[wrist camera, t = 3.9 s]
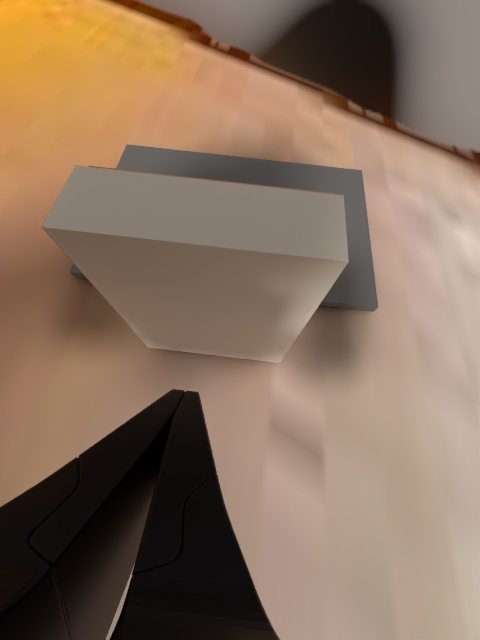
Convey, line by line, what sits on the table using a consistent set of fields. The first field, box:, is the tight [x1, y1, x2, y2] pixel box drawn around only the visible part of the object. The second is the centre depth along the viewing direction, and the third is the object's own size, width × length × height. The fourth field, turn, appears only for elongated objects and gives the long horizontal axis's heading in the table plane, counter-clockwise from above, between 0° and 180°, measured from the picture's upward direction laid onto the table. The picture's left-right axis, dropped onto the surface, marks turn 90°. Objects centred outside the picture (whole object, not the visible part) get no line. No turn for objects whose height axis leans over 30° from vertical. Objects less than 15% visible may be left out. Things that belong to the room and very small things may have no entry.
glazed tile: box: [42, 165, 349, 363], centre depth 12 cm, size 3×8×10 cm, turn 84°
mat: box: [70, 145, 378, 311], centre depth 20 cm, size 13×20×1 cm, turn 84°
